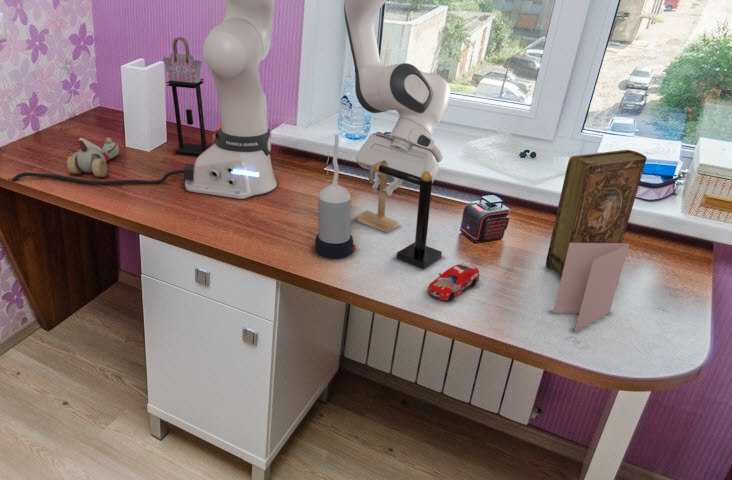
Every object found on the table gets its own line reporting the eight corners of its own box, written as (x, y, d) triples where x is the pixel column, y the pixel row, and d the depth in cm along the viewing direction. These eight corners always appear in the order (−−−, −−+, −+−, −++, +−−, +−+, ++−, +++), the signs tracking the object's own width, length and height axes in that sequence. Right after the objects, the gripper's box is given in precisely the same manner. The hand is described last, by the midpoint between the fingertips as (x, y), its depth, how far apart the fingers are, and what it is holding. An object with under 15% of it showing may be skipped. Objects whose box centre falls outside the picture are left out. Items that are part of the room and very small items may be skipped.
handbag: (215, 148, 185) (205, 36, 168) (206, 157, 179) (194, 41, 162) (180, 144, 186) (166, 32, 169) (169, 153, 179) (153, 37, 163)
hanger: (368, 215, 155) (370, 154, 147) (398, 226, 151) (402, 164, 143) (352, 222, 151) (354, 160, 142) (383, 234, 147) (387, 171, 138)
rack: (380, 234, 147) (385, 151, 136) (441, 257, 139) (451, 171, 129) (361, 244, 142) (364, 159, 131) (423, 269, 134) (432, 180, 124)
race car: (444, 306, 123) (446, 288, 121) (422, 295, 126) (423, 277, 124) (483, 282, 132) (485, 265, 130) (461, 272, 135) (464, 255, 132)
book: (602, 257, 146) (631, 149, 132) (618, 268, 142) (650, 158, 128) (544, 268, 139) (568, 156, 125) (560, 281, 135) (587, 166, 121)
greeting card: (607, 310, 126) (627, 241, 118) (622, 331, 120) (644, 260, 112) (551, 310, 125) (568, 240, 116) (563, 331, 119) (581, 260, 110)
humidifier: (360, 254, 138) (364, 139, 124) (324, 261, 134) (325, 144, 120) (343, 238, 143) (345, 127, 130) (309, 245, 140) (307, 130, 126)
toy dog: (123, 154, 176) (117, 121, 171) (122, 179, 162) (116, 144, 157) (74, 155, 172) (66, 122, 167) (68, 181, 158) (60, 146, 153)
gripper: (367, 122, 151) (340, 173, 149) (440, 144, 142) (412, 198, 140) (378, 137, 157) (351, 186, 155) (449, 158, 148) (421, 210, 146)
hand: (381, 192), depth 148 cm, fingers closed on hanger
